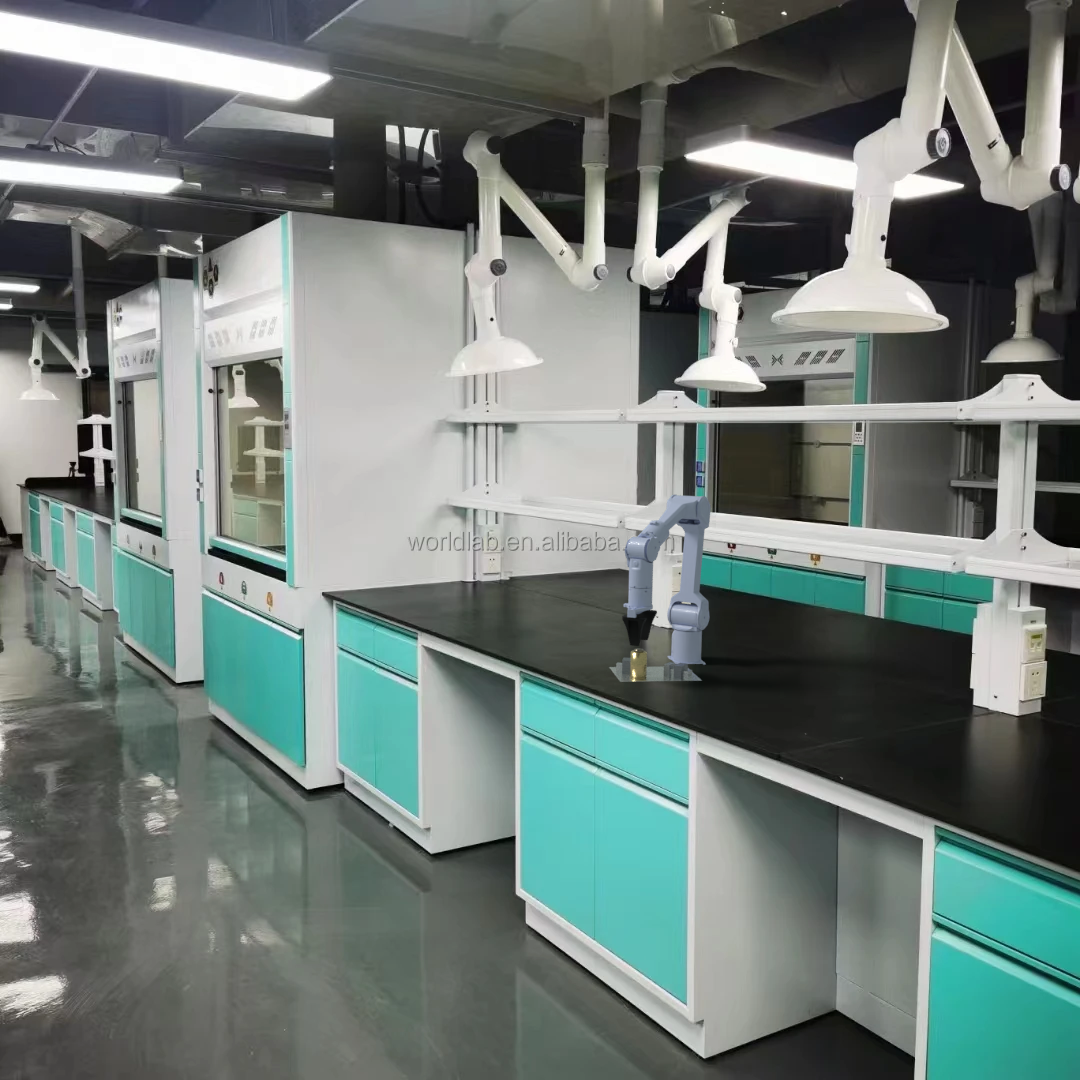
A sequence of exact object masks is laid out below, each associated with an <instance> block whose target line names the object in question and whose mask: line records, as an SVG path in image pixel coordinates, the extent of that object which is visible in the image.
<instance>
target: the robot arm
mask: <svg viewBox="0 0 1080 1080" xmlns="http://www.w3.org/2000/svg"><path fill="white" fill-rule="evenodd" d="M711 511H712V510H711V503H710V501H709V499H708V497H707V496H704V495H701V496H697V495H681V494H680V495H677V494H672V495H671V496H669V498H668V499H667V500H666V509H665V510H664V512H662V514H661V516H660V517H659V519H656V520H654V519H653V520H650V521H649V524H647V526H646V527H645V528H644V529H643V530H642V531H641V532H640V533H639V534H638V535H637V536H632V537H631V538H629V539H627V542H626V544H625V548H624V554H625V559H626V566H627V568H628V599H627V600H628V602H625V603H623V608H626V609H627V612H626V613H627V615H626V614H624V615H622V616H621V617H622V618H621V619H622V622H623V624H624V626H625V629H626V631H627V632H626V633H627V637H628V642H629V645H630V646H631V647H632V646H634V647H639V646H640V643H641V641H648V640H649V638H650V633H651V628H652V625H653V622H654V620H655V618H656V616H657V614H658V611H657V610H656V609H655V610H654V609H653V608H654V606H653V589H654V588H653V582H654V581H653V580H654V579H653V578H654V577H653V576H654V562H655V561H656V560H657V558H658V555H659V552H660V551H661V546H662V545H663V544H664V543H665V542H666V541H667V539H668V538H669V536H670V530H671V529H672V528H673V527H674V526H675V525H677V526H679V527H680V528H682V530H683V531H684V538H683V539H684V541H683V550H682V560H681V561H682V562H681V572H680V573H681V574H680V582H679V583H680V584H679V591H678V592H677V593H675V594H674V595H673V596H671V598H670V602H669V607H668V609H667V621H668V623H669V625H670V626H671V629H673V632H672V634H671V649H670V650H671V654H670V655H667V658H668V659H669V660H671V662H673V663H675V665H676V664H678V663H687V664H688V665H695V664H696V665H700V664H702V665H703V666H705V665H707V664H706V662H705V661H703V660H702V640H703V639H702V635H703V630H705V629H706V628H707V626H708V625H709V621H710V609H709V607H710V606H709V600H708V599H707V598H706V597H705V596H704V595H703V594H702V593H701V592H700V590H701V589H700V587H701V575H702V563H703V551H704V541H705V540H704V539H705V529H708V528H710V519H711Z"/></svg>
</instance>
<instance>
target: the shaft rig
mask: <svg viewBox="0 0 1080 1080" xmlns="http://www.w3.org/2000/svg"><path fill="white" fill-rule="evenodd" d="M630 659H631V657H623V658H622V661H621V662H616V663H615V665H616V666H609V667H608V668H609V669H610V670H611V671H612V673H613V674H614V676H615V677H616V678H617V679H618V681H619V682H620V683H622V682H625V683H626V682H628V683H629V682H686V681H687V682H689V681H690V682H695V681H696V682H699V681H700V682H701V681H703V680H702V679H701V678H700V677H699V676H698V675H697V674H695V672H693V669H690V668H689V664H687V663H678V664H675V663H674V662H673V661H670V662H667V663H664V664H663V666H647V679H645V680H633V679H630Z"/></svg>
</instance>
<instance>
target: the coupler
mask: <svg viewBox="0 0 1080 1080" xmlns="http://www.w3.org/2000/svg"><path fill="white" fill-rule="evenodd" d="M630 658H631V659H630V679H633V680H645V679H647V667H648V651H646V650H645V649H644V648H638V647H637V648H636V647H635V648H634V649H632V650H630Z"/></svg>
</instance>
